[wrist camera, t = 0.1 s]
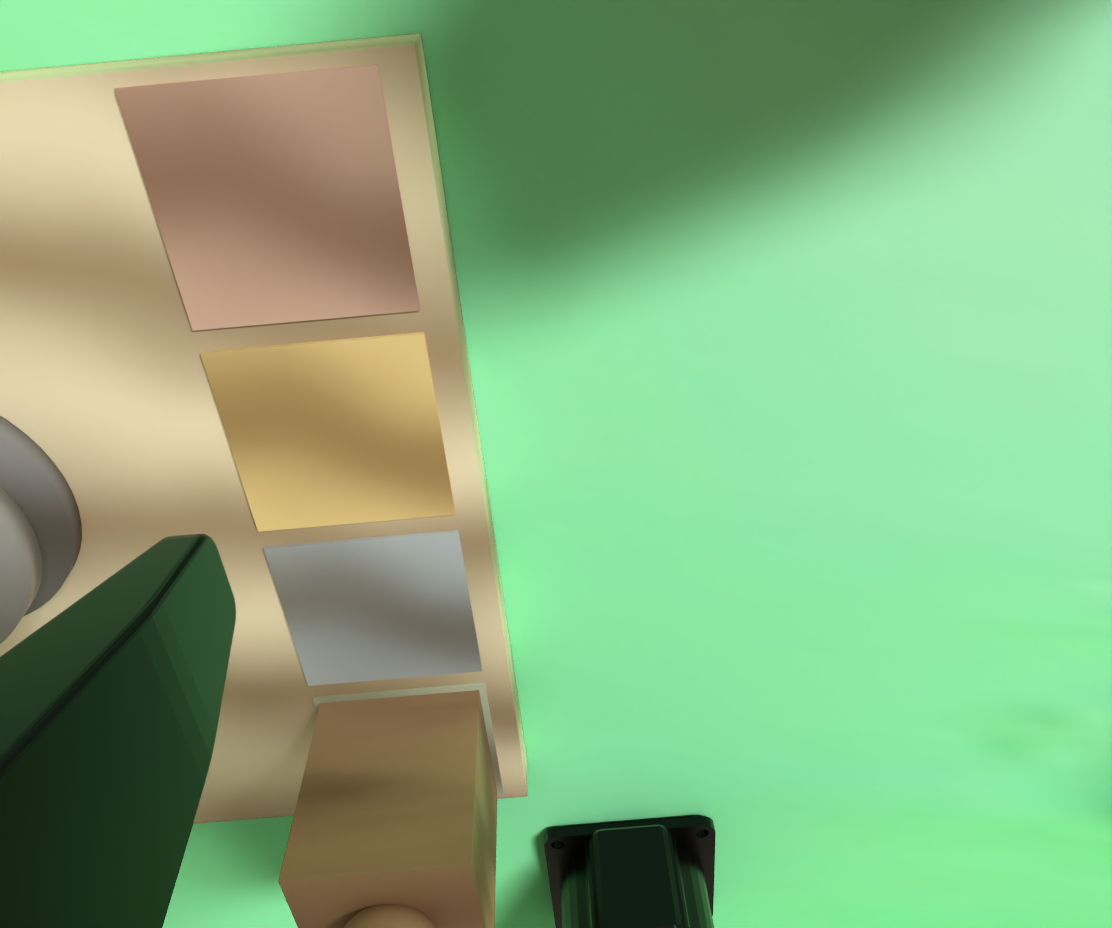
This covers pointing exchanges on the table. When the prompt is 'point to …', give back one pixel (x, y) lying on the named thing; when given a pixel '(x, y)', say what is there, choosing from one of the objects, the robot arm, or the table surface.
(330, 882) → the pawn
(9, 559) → the dome
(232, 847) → the table surface
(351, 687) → the game board
